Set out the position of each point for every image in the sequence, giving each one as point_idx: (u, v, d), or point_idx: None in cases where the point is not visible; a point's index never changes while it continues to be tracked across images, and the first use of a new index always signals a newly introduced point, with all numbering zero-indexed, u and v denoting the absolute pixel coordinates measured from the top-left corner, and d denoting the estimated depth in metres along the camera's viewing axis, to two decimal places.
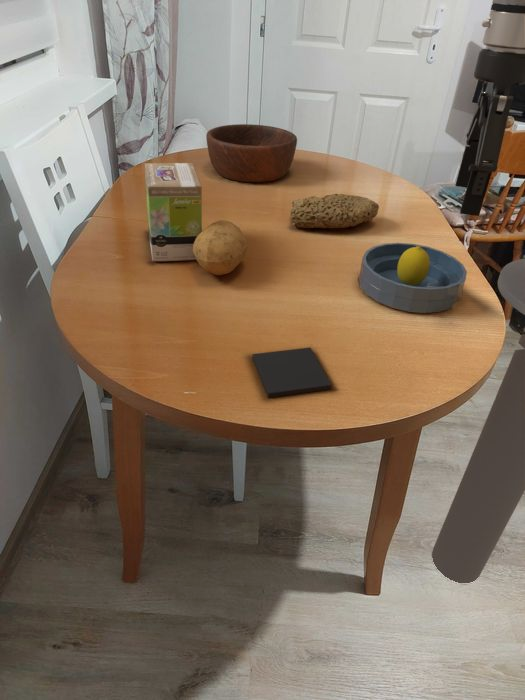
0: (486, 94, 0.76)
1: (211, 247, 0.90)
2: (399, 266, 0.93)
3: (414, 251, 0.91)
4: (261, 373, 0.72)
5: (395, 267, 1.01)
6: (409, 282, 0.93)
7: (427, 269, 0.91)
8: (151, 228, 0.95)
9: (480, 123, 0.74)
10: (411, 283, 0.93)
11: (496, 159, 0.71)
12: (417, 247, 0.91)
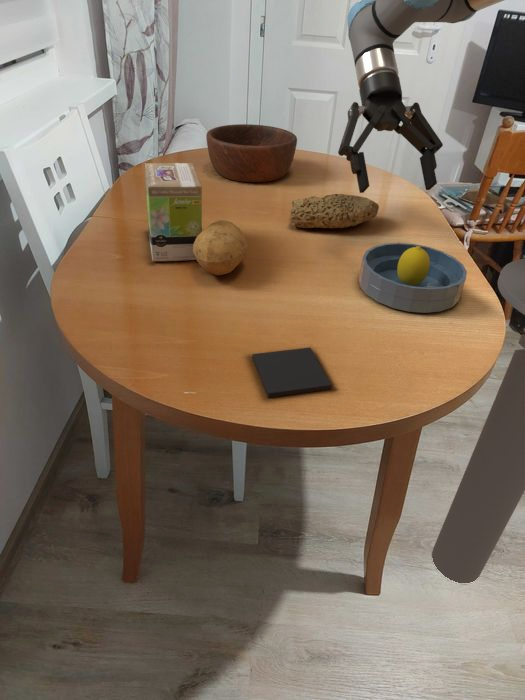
0: None
1: (211, 247, 0.90)
2: (399, 266, 0.93)
3: (414, 251, 0.91)
4: (261, 373, 0.72)
5: (395, 267, 1.01)
6: (409, 282, 0.93)
7: (427, 269, 0.91)
8: (151, 228, 0.95)
9: None
10: (411, 283, 0.93)
11: (343, 140, 0.93)
12: (417, 247, 0.91)
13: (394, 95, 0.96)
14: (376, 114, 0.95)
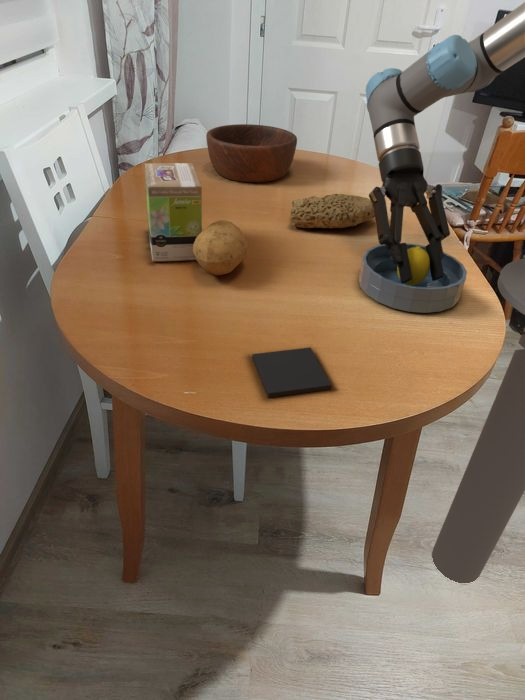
0: None
1: (211, 247, 0.90)
2: None
3: (414, 251, 0.91)
4: (261, 373, 0.72)
5: (395, 267, 1.01)
6: (409, 282, 0.93)
7: (427, 269, 0.91)
8: (151, 228, 0.95)
9: None
10: (411, 283, 0.93)
11: (383, 232, 0.89)
12: (417, 247, 0.91)
13: (415, 171, 0.92)
14: (401, 194, 0.91)
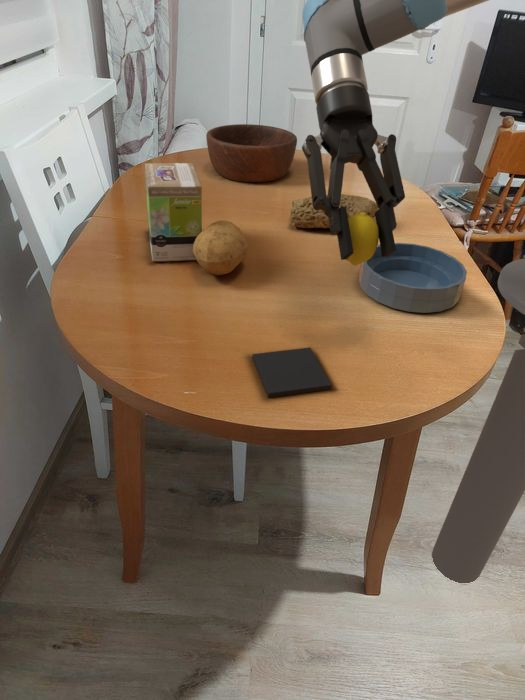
0: None
1: (211, 247, 0.90)
2: None
3: (357, 218, 0.70)
4: (261, 373, 0.72)
5: (395, 267, 1.01)
6: (352, 259, 0.72)
7: (375, 242, 0.71)
8: (151, 228, 0.95)
9: None
10: (355, 260, 0.73)
11: (316, 192, 0.69)
12: (362, 213, 0.71)
13: (361, 116, 0.72)
14: (341, 145, 0.70)
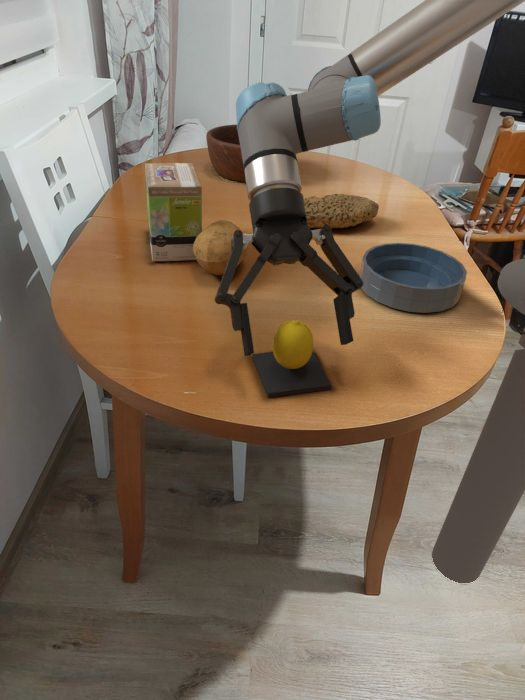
0: None
1: (211, 247, 0.90)
2: (273, 345, 0.70)
3: (289, 328, 0.68)
4: (261, 373, 0.72)
5: (395, 267, 1.01)
6: (286, 366, 0.70)
7: (308, 350, 0.69)
8: (151, 228, 0.95)
9: None
10: (289, 367, 0.70)
11: (219, 287, 0.66)
12: (294, 322, 0.68)
13: (294, 218, 0.69)
14: (267, 247, 0.68)
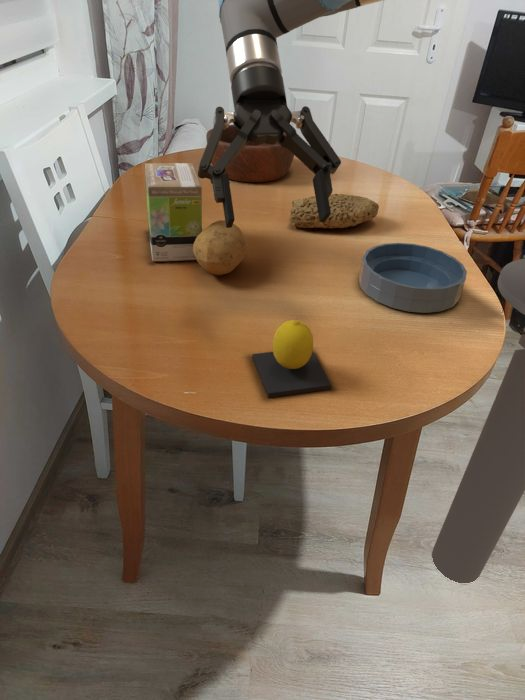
0: None
1: (211, 247, 0.90)
2: (273, 345, 0.70)
3: (289, 328, 0.68)
4: (261, 373, 0.72)
5: (395, 267, 1.01)
6: (286, 366, 0.70)
7: (308, 350, 0.69)
8: (151, 228, 0.95)
9: None
10: (289, 367, 0.70)
11: None
12: (294, 322, 0.68)
13: (274, 97, 0.72)
14: (248, 123, 0.71)
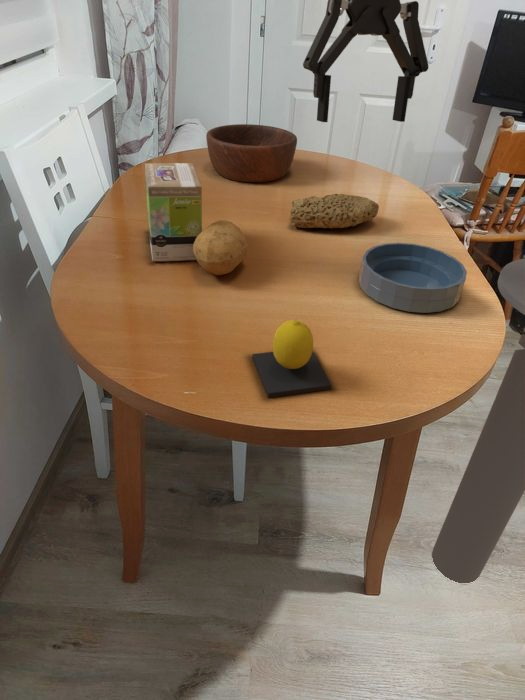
0: None
1: (211, 247, 0.90)
2: (273, 345, 0.70)
3: (289, 328, 0.68)
4: (261, 373, 0.72)
5: (395, 267, 1.01)
6: (286, 366, 0.70)
7: (308, 350, 0.69)
8: (151, 228, 0.95)
9: None
10: (289, 367, 0.70)
11: (311, 56, 0.76)
12: (294, 322, 0.68)
13: None
14: (360, 20, 0.75)
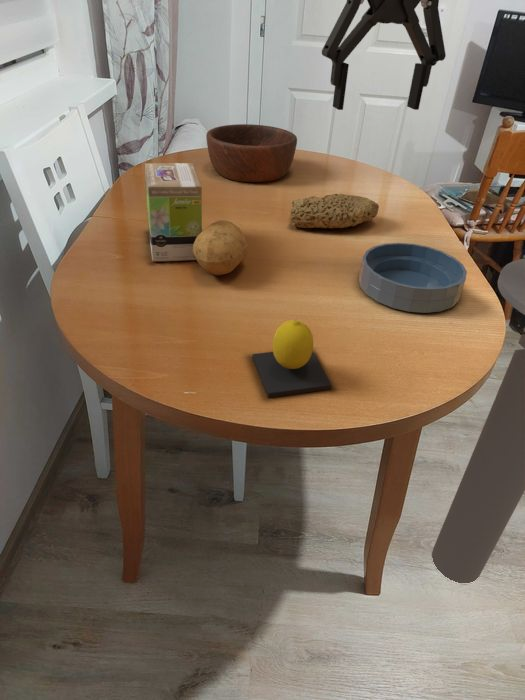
0: None
1: (211, 247, 0.90)
2: (273, 345, 0.70)
3: (289, 328, 0.68)
4: (261, 373, 0.72)
5: (395, 267, 1.01)
6: (286, 366, 0.70)
7: (308, 350, 0.69)
8: (151, 228, 0.95)
9: None
10: (289, 367, 0.70)
11: (330, 45, 0.78)
12: (294, 322, 0.68)
13: None
14: (380, 10, 0.76)
